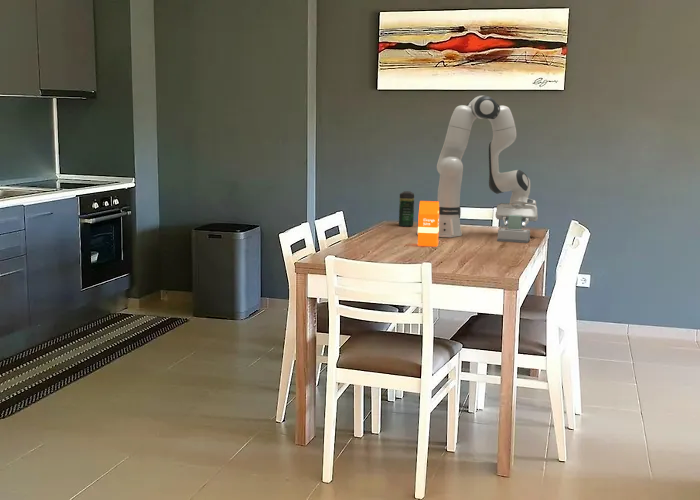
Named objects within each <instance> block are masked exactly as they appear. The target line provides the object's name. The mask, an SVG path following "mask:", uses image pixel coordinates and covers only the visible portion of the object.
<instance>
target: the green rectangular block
mask: <svg viewBox="0 0 700 500" xmlns="http://www.w3.org/2000/svg"><path fill="white" fill-rule="evenodd" d="M507 222H508V225H507V229H522V223H523V221H522V216H518V215H509V217H508V220H507Z"/></svg>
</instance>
